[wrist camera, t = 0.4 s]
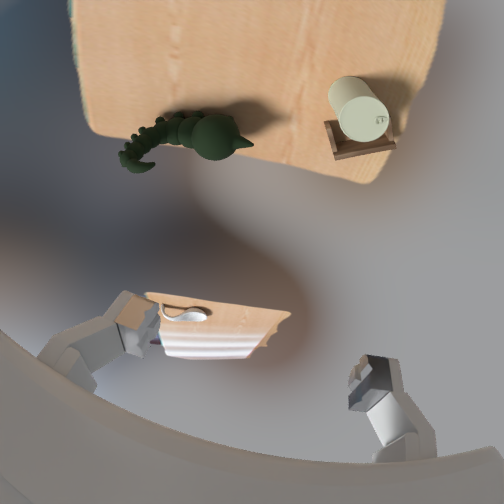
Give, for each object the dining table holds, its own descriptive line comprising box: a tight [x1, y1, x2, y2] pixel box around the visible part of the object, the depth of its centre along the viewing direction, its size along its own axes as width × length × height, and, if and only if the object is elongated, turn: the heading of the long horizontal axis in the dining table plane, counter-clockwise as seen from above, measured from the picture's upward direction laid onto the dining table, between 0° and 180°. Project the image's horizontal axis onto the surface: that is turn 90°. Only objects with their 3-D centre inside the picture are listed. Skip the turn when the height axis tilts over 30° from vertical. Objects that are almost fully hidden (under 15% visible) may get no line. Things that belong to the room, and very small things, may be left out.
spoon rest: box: [161, 304, 207, 321], centre depth 131 cm, size 24×12×7 cm, turn 85°
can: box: [328, 76, 389, 142], centre depth 43 cm, size 9×9×12 cm
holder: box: [324, 115, 396, 161], centre depth 51 cm, size 7×14×5 cm, turn 113°
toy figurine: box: [118, 111, 254, 173], centre depth 49 cm, size 9×19×25 cm
